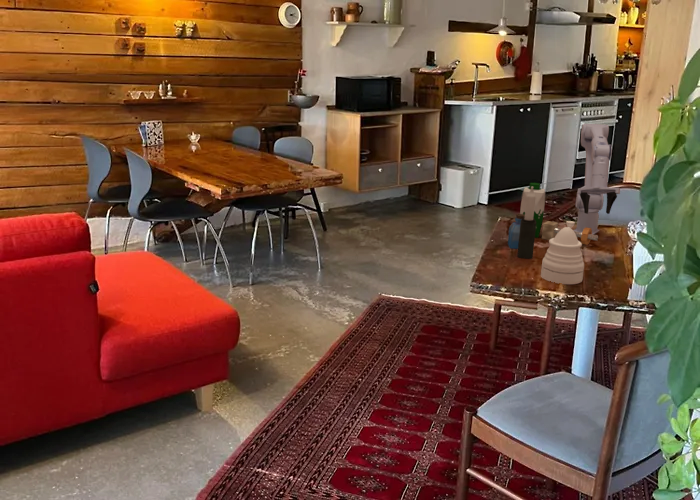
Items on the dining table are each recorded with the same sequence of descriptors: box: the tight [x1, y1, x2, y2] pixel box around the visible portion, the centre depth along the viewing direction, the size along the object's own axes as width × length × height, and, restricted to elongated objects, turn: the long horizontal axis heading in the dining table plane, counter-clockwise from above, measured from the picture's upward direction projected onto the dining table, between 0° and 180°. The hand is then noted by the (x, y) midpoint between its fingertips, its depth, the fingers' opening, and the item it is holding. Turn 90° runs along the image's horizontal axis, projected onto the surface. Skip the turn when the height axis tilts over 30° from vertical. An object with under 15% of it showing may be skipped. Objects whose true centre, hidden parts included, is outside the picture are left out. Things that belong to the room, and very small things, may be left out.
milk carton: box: [519, 182, 546, 239], centre depth 261 cm, size 9×9×20 cm
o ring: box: [580, 227, 592, 246], centre depth 251 cm, size 2×6×6 cm, turn 144°
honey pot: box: [540, 220, 585, 285], centre depth 213 cm, size 13×13×18 cm
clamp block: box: [541, 220, 559, 241], centre depth 259 cm, size 4×5×6 cm
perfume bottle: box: [507, 213, 525, 250], centre depth 246 cm, size 6×6×12 cm
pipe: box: [554, 227, 599, 242], centre depth 254 cm, size 20×2×2 cm, turn 54°
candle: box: [516, 186, 536, 260], centre depth 232 cm, size 5×5×25 cm
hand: (596, 213), depth 245 cm, fingers open, 7 cm apart
